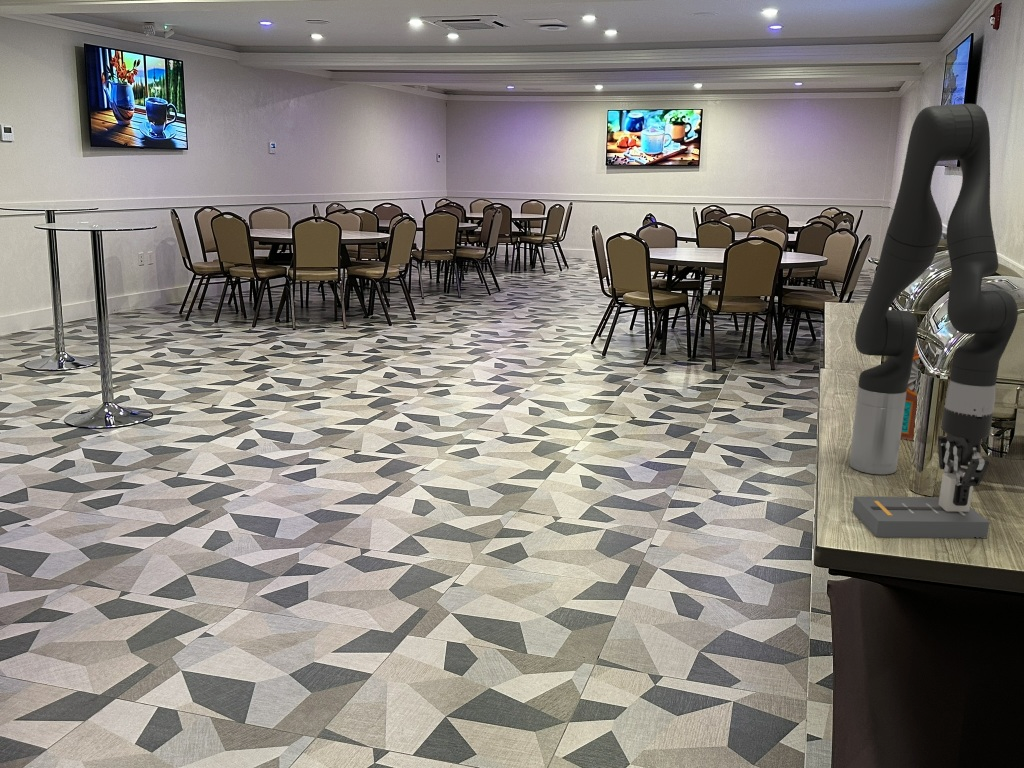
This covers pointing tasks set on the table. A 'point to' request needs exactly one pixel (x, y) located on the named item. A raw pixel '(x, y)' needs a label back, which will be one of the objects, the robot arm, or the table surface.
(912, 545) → the table surface
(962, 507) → the fader
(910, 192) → the robot arm
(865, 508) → the console
